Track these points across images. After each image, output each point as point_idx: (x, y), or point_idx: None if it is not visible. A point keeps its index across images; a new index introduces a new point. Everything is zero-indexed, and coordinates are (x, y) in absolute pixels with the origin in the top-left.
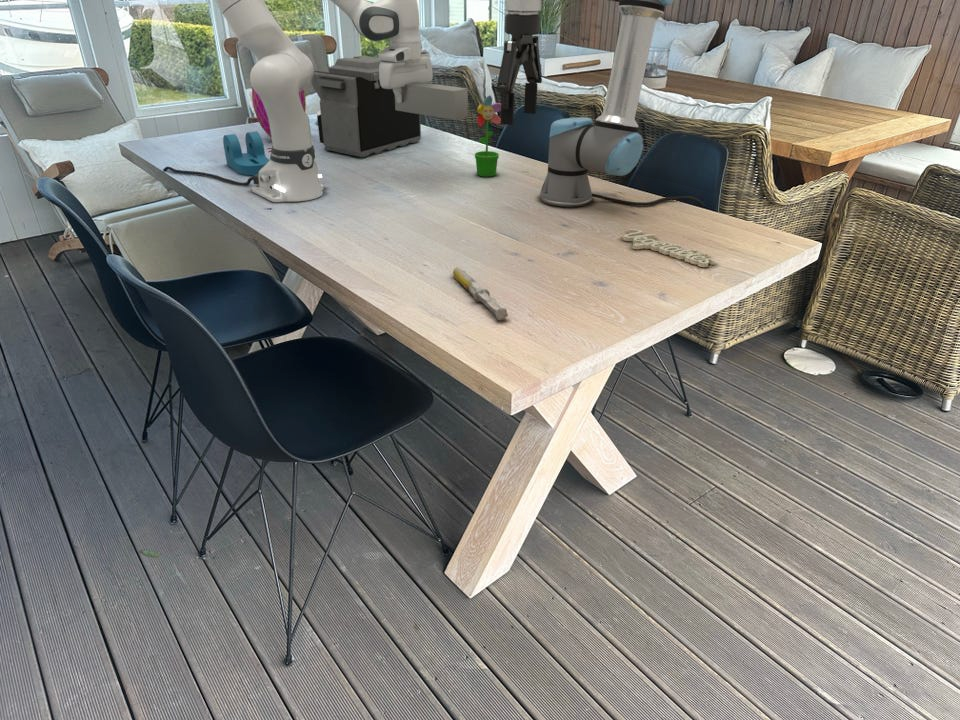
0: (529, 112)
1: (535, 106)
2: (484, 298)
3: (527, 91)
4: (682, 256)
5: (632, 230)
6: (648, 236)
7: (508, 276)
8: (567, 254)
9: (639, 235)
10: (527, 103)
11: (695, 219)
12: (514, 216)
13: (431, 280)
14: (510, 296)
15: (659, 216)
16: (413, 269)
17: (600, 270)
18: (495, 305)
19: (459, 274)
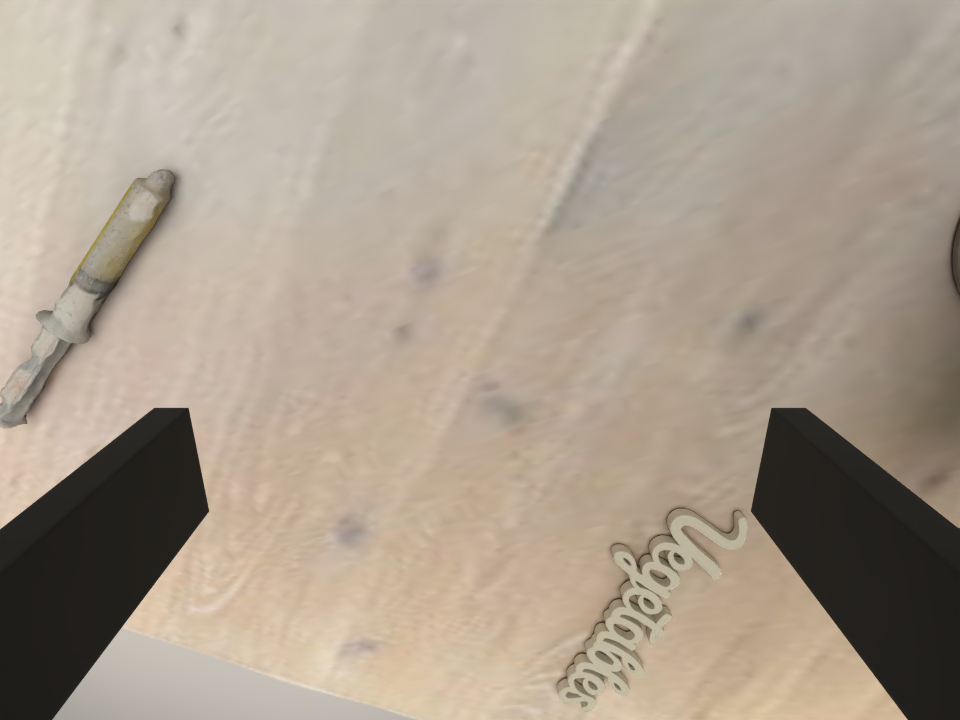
0: (767, 465)
1: (795, 557)
2: (34, 350)
3: (923, 588)
4: (587, 654)
5: (738, 524)
6: (703, 568)
7: (262, 320)
8: (500, 409)
9: (697, 550)
10: (820, 492)
11: None
12: (798, 114)
13: (93, 119)
14: (152, 374)
15: None
16: (124, 7)
17: (432, 512)
18: (18, 392)
19: (112, 217)
